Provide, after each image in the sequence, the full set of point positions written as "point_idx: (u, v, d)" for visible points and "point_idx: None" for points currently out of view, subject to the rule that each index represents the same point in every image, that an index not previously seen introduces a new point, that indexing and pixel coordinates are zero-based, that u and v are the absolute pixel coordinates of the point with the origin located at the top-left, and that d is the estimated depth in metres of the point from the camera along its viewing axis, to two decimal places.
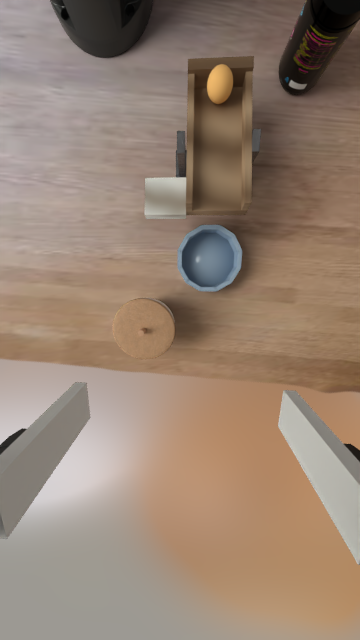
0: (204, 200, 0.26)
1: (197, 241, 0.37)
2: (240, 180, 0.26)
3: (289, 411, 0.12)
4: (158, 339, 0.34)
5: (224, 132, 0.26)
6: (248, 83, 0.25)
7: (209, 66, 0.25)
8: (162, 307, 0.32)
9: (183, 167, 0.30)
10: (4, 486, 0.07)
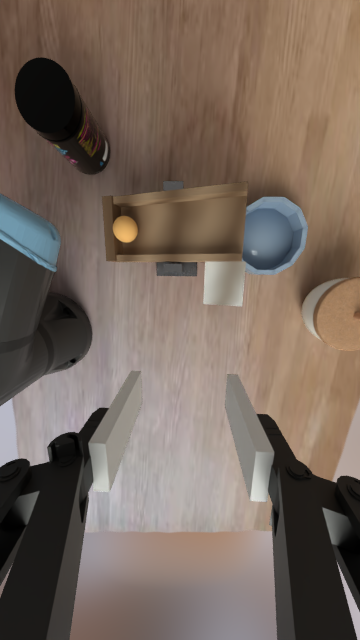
0: (231, 240, 0.24)
1: None
2: (211, 200, 0.24)
3: (229, 391, 0.14)
4: None
5: (161, 222, 0.26)
6: (123, 199, 0.25)
7: (112, 240, 0.27)
8: (331, 292, 0.28)
9: None
10: (109, 448, 0.09)
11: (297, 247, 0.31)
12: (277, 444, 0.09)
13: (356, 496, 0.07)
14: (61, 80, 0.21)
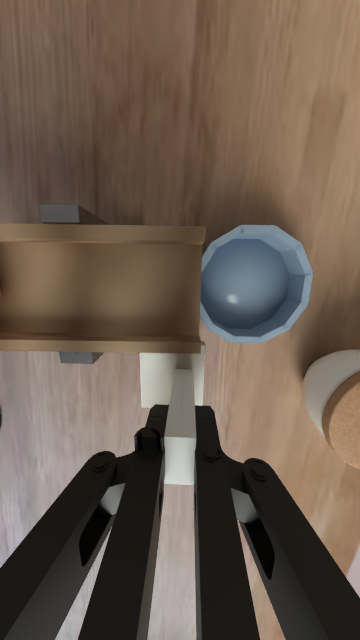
0: (180, 313, 0.14)
1: (211, 304, 0.22)
2: (143, 245, 0.13)
3: None
4: None
5: (51, 277, 0.14)
6: None
7: None
8: (354, 388, 0.16)
9: None
10: None
11: (296, 302, 0.20)
12: (208, 432, 0.10)
13: (257, 477, 0.07)
14: None
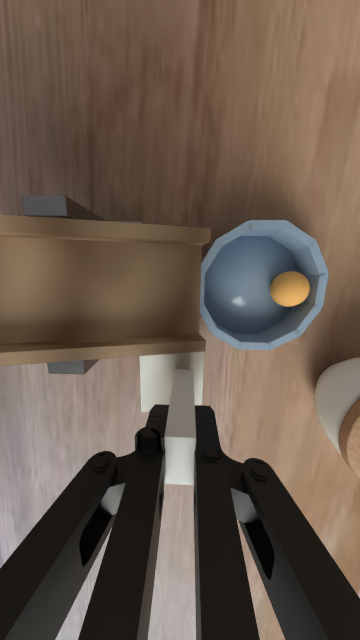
0: (181, 313, 0.15)
1: (215, 306, 0.20)
2: (143, 245, 0.13)
3: None
4: None
5: (36, 277, 0.12)
6: None
7: None
8: None
9: None
10: None
11: (309, 304, 0.18)
12: (208, 431, 0.10)
13: (257, 477, 0.07)
14: None
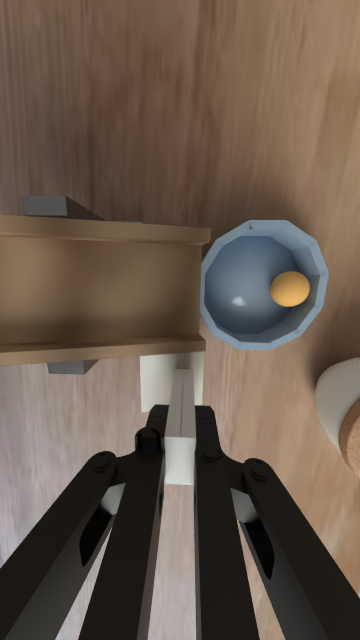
0: (181, 313, 0.15)
1: (215, 306, 0.20)
2: (143, 245, 0.13)
3: None
4: None
5: (36, 277, 0.12)
6: None
7: None
8: None
9: None
10: None
11: (309, 304, 0.18)
12: (208, 432, 0.10)
13: (257, 477, 0.07)
14: None
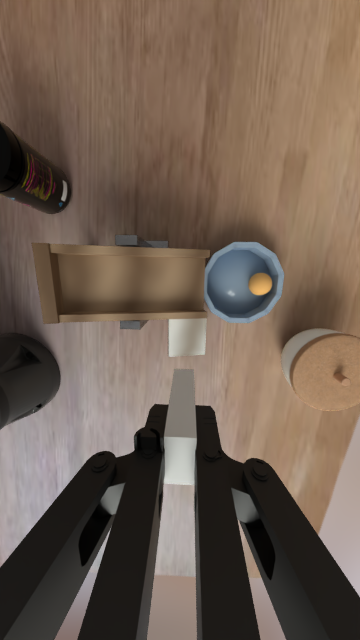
0: (193, 296, 0.25)
1: (214, 296, 0.31)
2: (173, 258, 0.24)
3: None
4: (354, 357, 0.24)
5: (117, 276, 0.23)
6: (67, 249, 0.20)
7: (52, 298, 0.20)
8: (308, 349, 0.25)
9: None
10: None
11: (273, 294, 0.28)
12: (208, 432, 0.10)
13: (257, 477, 0.07)
14: None
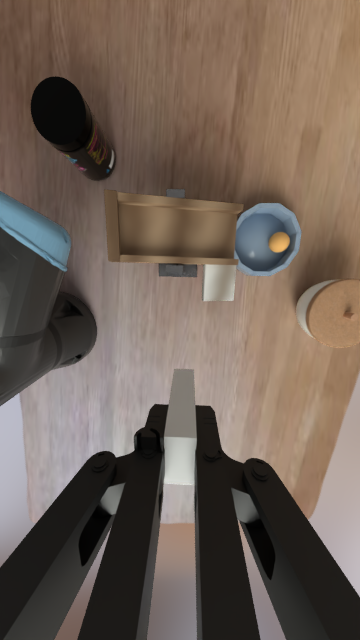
0: (225, 247, 0.30)
1: (238, 255, 0.36)
2: (211, 212, 0.28)
3: None
4: None
5: (165, 226, 0.27)
6: (130, 197, 0.24)
7: (116, 239, 0.25)
8: (322, 292, 0.29)
9: None
10: None
11: (291, 250, 0.33)
12: (208, 431, 0.10)
13: (258, 477, 0.07)
14: (73, 97, 0.23)
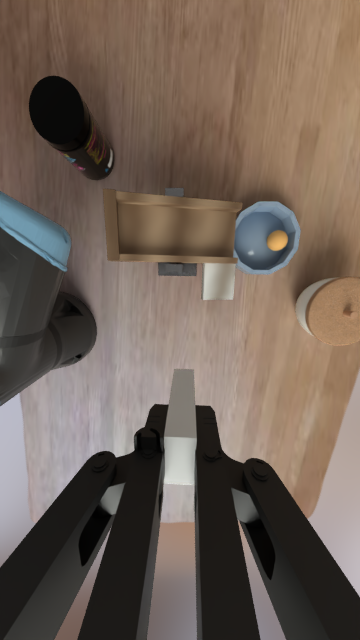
0: (225, 246, 0.30)
1: (238, 253, 0.36)
2: (210, 211, 0.28)
3: None
4: None
5: (164, 225, 0.27)
6: (129, 196, 0.24)
7: (115, 238, 0.25)
8: (322, 290, 0.30)
9: None
10: None
11: (291, 248, 0.33)
12: (208, 431, 0.10)
13: (257, 477, 0.07)
14: (71, 96, 0.23)
